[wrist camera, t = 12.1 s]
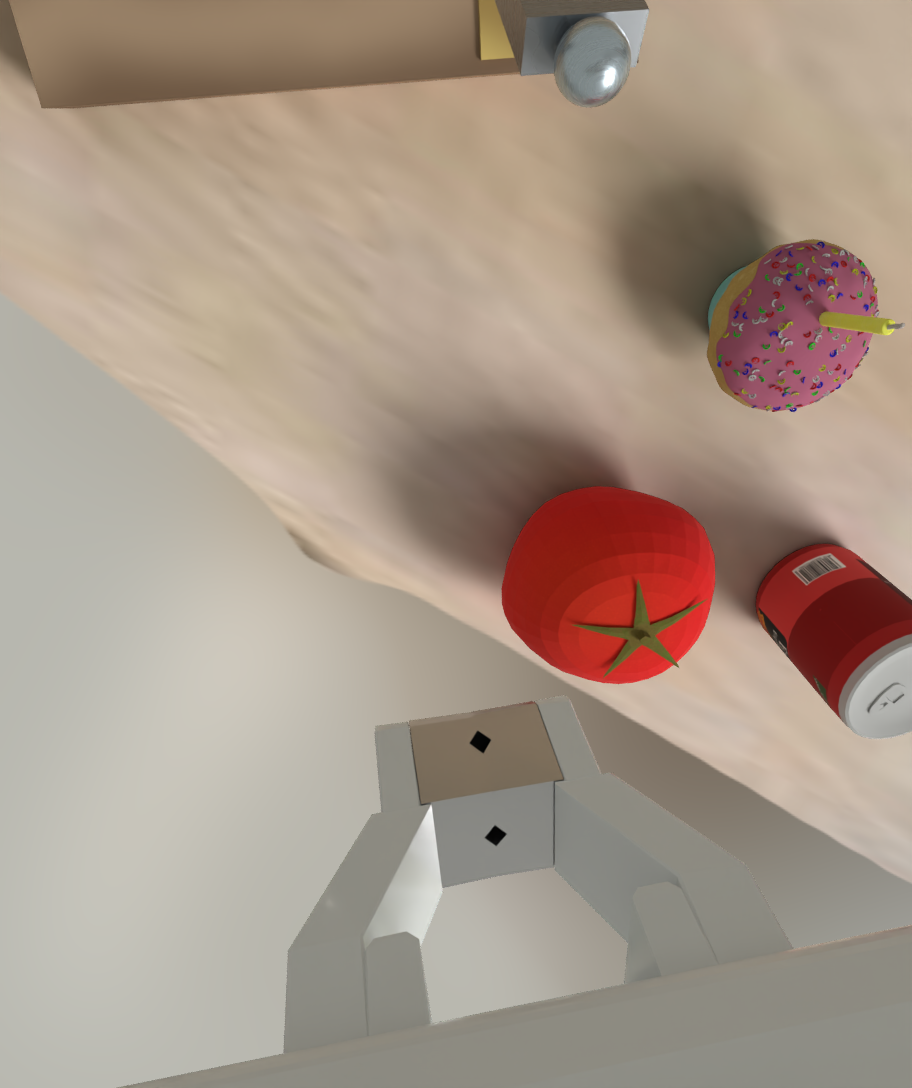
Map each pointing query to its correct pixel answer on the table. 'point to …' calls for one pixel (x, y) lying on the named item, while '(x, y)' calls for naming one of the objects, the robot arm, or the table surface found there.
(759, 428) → the table surface
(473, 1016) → the robot arm
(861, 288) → the cupcake
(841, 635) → the canned food
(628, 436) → the table surface
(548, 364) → the table surface
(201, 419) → the table surface
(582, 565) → the tomato
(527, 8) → the grey knob lever
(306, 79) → the switch box
